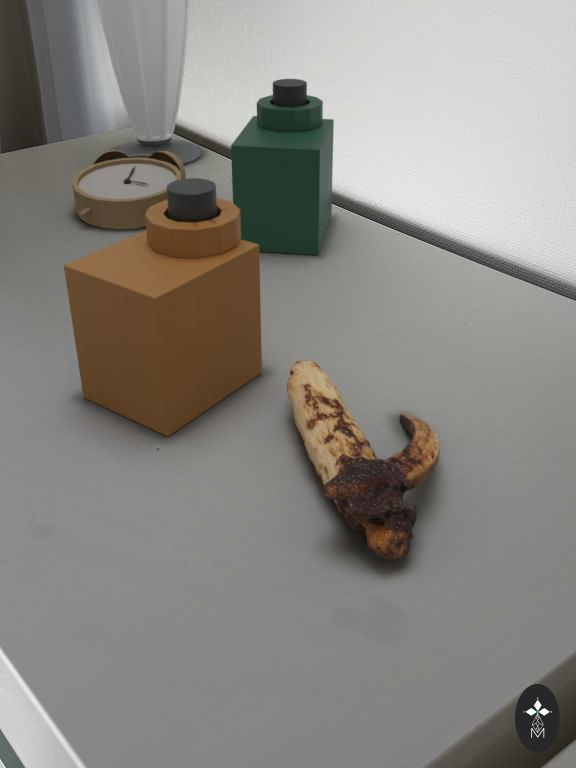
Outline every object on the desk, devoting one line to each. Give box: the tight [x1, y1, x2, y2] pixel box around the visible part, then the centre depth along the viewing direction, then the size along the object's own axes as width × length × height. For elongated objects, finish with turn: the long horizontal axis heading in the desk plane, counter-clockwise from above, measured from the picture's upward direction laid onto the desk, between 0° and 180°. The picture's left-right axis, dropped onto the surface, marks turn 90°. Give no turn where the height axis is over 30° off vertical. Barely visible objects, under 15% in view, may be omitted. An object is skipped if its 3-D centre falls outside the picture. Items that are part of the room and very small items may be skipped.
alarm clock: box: [71, 149, 187, 230], centre depth 92 cm, size 11×5×15 cm
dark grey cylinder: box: [167, 177, 217, 223], centre depth 57 cm, size 3×3×2 cm
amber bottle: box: [63, 197, 263, 437], centre depth 59 cm, size 11×8×12 cm
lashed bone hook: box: [286, 360, 441, 560], centre depth 52 cm, size 9×5×18 cm
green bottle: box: [230, 94, 335, 256], centre depth 83 cm, size 11×8×12 cm
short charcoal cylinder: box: [272, 78, 308, 107], centre depth 82 cm, size 3×3×2 cm
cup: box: [96, 0, 202, 166], centre depth 102 cm, size 12×12×22 cm
